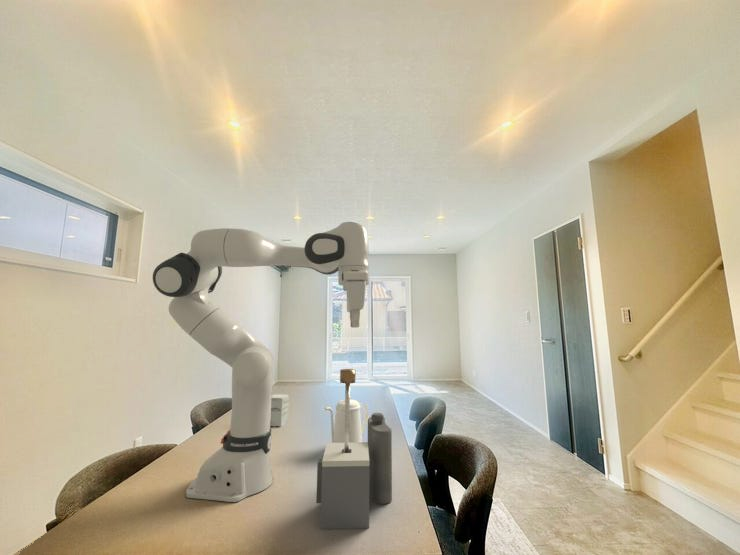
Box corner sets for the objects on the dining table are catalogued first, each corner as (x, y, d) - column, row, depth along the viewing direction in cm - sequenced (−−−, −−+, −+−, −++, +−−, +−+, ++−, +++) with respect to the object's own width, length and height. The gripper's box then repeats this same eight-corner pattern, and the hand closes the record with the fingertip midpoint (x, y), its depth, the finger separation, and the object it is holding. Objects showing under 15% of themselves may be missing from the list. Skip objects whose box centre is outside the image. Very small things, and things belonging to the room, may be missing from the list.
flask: (365, 476, 91) (365, 407, 94) (383, 475, 92) (383, 406, 95) (371, 505, 77) (371, 422, 80) (393, 504, 77) (393, 421, 80)
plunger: (332, 479, 71) (334, 372, 75) (334, 466, 78) (336, 368, 82) (359, 478, 72) (360, 371, 76) (359, 465, 78) (360, 368, 82)
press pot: (313, 529, 68) (315, 461, 70) (319, 501, 78) (320, 442, 81) (369, 528, 68) (369, 460, 70) (367, 500, 79) (367, 442, 81)
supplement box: (265, 426, 136) (267, 397, 138) (273, 421, 143) (275, 393, 145) (281, 427, 135) (282, 397, 137) (288, 422, 142) (289, 394, 144)
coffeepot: (310, 457, 104) (312, 400, 107) (356, 436, 124) (357, 389, 127) (333, 466, 98) (334, 405, 101) (378, 443, 117) (378, 392, 120)
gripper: (342, 283, 95) (342, 327, 93) (343, 272, 75) (344, 328, 73) (361, 283, 96) (362, 327, 94) (368, 272, 76) (369, 327, 74)
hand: (354, 327), depth 83 cm, fingers open, 8 cm apart
